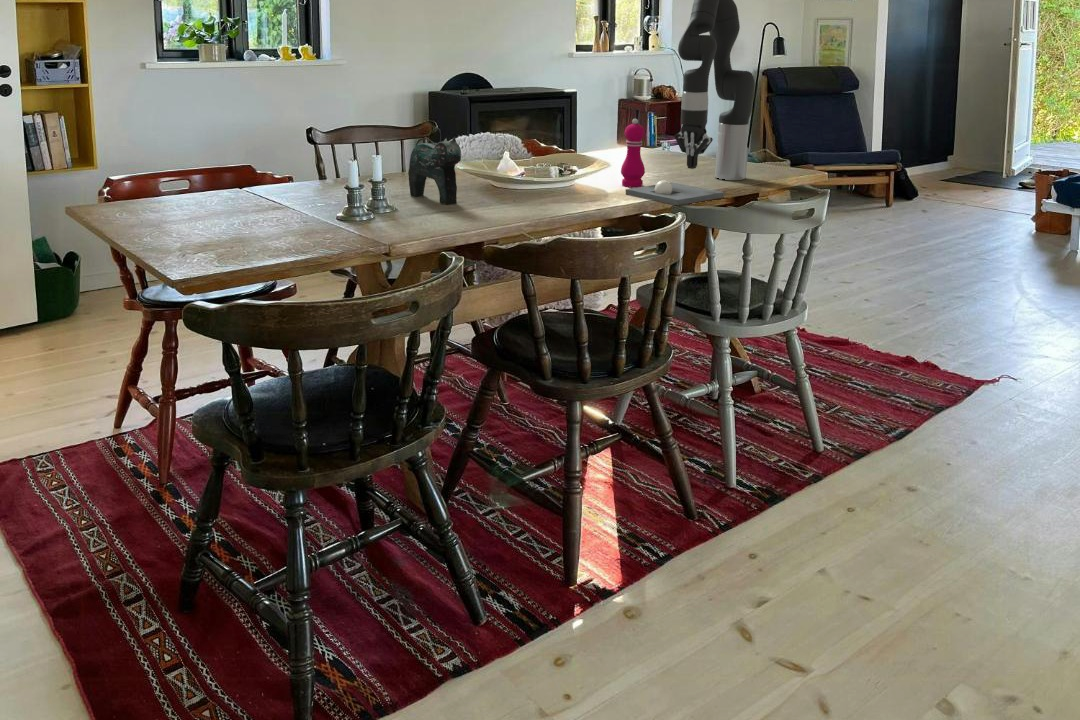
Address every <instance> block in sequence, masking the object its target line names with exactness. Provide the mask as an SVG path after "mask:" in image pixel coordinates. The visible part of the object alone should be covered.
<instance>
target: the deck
mask: <svg viewBox="0 0 1080 720" xmlns="http://www.w3.org/2000/svg"><path fill="white" fill-rule="evenodd" d="M669 183H670V184H671V185H672V192H671V194H670V195H663V194H658V193H655V185H656V184H653V185H646V186H642V187H630V188H626V189H625V195H627V196H630V197H631V196H632V197H636V198H641V199H644V200H645V199H646V200H650V201H655V202H660V203H665V204H670V205H674V206H682V205H687V204H693V203H697V202H699V203H700V202H705V201H711V200H716V199H722V198H724V196H725V192H724V191H720V190H715V189H710V188H703V187H700V186H693V185H689V184H684V183H683V184H682V183H679V182H674V181H673V182H671V181H670V182H669Z"/></svg>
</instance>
